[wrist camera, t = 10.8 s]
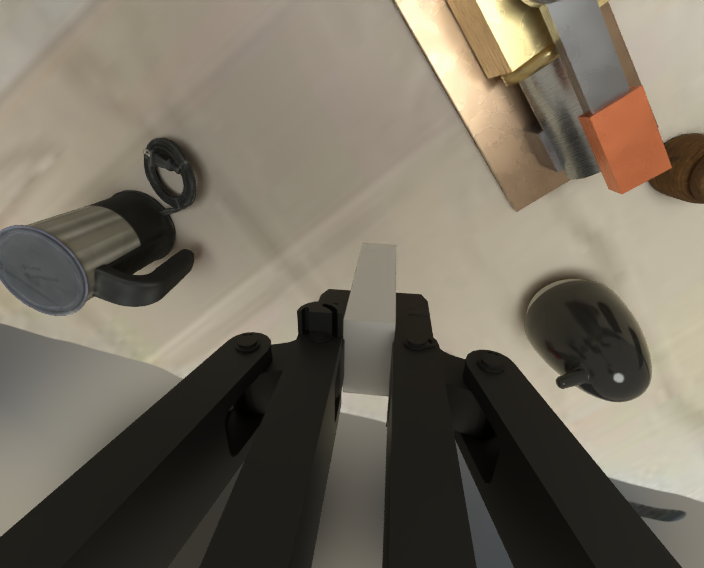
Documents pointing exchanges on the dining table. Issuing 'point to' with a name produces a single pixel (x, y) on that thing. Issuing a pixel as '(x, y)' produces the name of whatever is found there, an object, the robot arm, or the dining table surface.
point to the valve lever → (605, 95)
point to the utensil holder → (683, 169)
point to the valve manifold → (511, 88)
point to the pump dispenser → (589, 339)
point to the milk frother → (102, 246)
